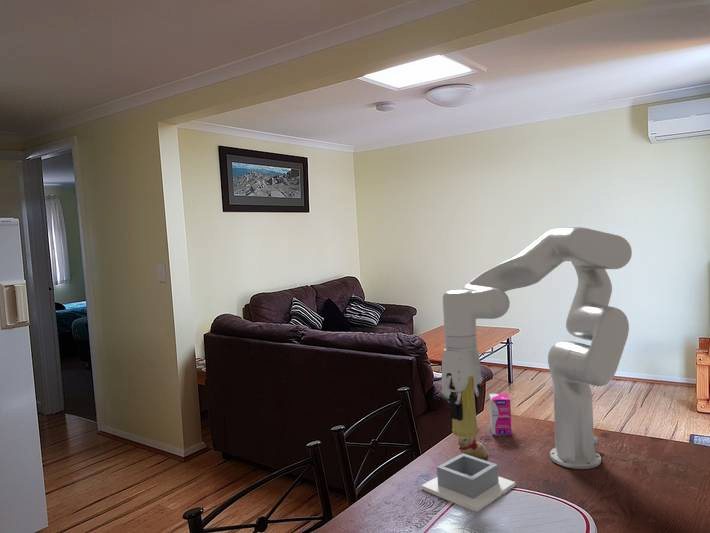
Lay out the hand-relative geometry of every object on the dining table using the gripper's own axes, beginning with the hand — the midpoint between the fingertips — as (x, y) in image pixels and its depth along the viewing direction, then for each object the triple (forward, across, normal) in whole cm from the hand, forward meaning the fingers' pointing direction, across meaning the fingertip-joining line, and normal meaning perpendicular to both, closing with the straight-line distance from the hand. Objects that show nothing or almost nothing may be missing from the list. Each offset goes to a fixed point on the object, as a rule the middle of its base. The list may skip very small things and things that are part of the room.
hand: (464, 414), depth 126 cm
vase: (+5, 0, 0) cm, 5 cm away
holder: (+18, 0, 0) cm, 18 cm away
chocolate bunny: (+18, -15, -9) cm, 25 cm away
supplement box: (+18, -35, -13) cm, 42 cm away
